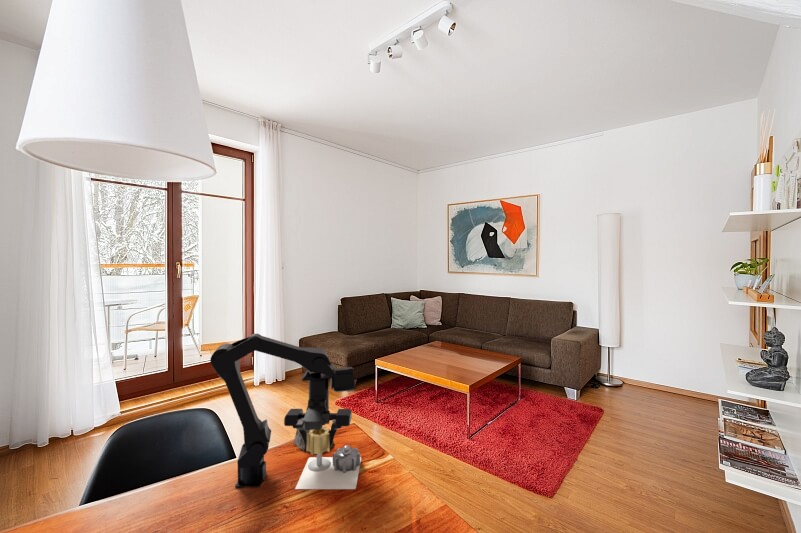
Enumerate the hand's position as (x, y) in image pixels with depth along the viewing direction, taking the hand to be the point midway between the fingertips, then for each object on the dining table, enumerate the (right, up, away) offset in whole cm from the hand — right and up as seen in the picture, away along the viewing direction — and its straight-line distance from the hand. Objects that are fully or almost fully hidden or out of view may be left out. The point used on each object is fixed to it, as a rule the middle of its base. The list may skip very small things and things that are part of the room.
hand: (318, 445), depth 107 cm
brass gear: (0, -1, 0) cm, 1 cm away
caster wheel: (-4, -7, +12) cm, 14 cm away
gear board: (+4, -7, -3) cm, 9 cm away
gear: (+8, -6, 0) cm, 10 cm away
